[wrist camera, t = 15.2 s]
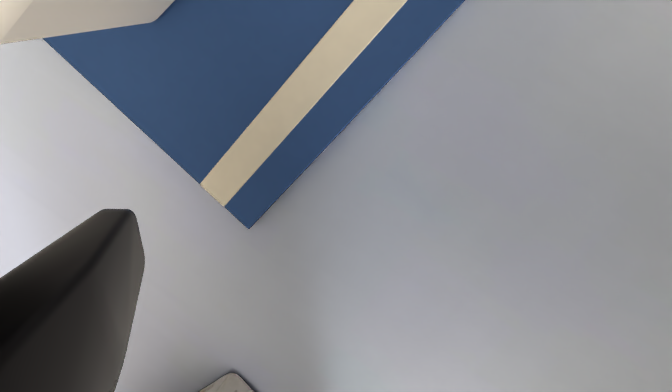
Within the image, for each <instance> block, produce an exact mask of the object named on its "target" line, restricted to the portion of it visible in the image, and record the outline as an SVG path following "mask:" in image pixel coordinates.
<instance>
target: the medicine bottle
mask: <svg viewBox="0 0 672 392" xmlns="http://www.w3.org/2000/svg"><path fill="white" fill-rule="evenodd" d="M174 1H175V0H0V44H6V43H13V42H20V41H27V40H33V39H40V38H47V37H54V36H61V35H68V34H75V33H82V32H89V31H96V30H103V29H110V28H117V27H123V26H130V25H137V24H144V23H151V22H153V21H155V20H156V19H158V18H159V16H160V15H161V14H162V13H163V12H164V11H165V10H166V9H167V8H168V7H169V6H170V5H171V4H172V3H173V2H174Z"/></svg>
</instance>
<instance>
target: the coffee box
mask: <svg viewBox="0 0 672 392" xmlns="http://www.w3.org/2000/svg"><path fill="white" fill-rule="evenodd" d="M199 392H254V391H253V390H252V389H251V388H250V387H249V386H248V385H247V384H246V383H245V381H244V380H243V379H242V378H241V377H240V376H238V375H237V374H235V373H228V374H226V375H225V376H223V377H221V378H220V379H218V380H217V381H215V382H213V383H212V384H210V385H209V386H207V387H205V388H204V389H202V390H200V391H199Z"/></svg>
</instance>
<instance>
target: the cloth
mask: <svg viewBox="0 0 672 392" xmlns="http://www.w3.org/2000/svg"><path fill="white" fill-rule="evenodd" d="M464 1H465V0H175V1H174V2H173V3H172V4H171V5H170V6H169V7H168V8H167V9H166V10H165V11H164V12H163V13H162V14H161V15H160V16H159V18H158V19H156V20H155V21H153V22H151V23H144V24H137V25H130V26H123V27H117V28H110V29H103V30H96V31H89V32H82V33H75V34H68V35H61V36H54V37H47V38H43V39H44V40H45V41H46V42H47V43H48V44H49V45H50V46H51V47H52V48H53V49H55V50H56V51H57V52H58V53H59V54H60V55H61V56H62V57H63V58H64V59H65V60H66V61H68V62H69V63H70V64H71V65H72V66H73V67H74V68H75V69H76V70H77V71H78V72H79V73H80V74H82V75H83V76H84V77H85V78H86V79H87V80H88V81H89V82H90V83H91V84H92V85H93V86H95V87H96V88H97V89H98V90H99V91H100V92H101V93H102V94H103V95H104V96H105V97H106V98H107V99H109V100H110V101H111V102H112V103H113V104H114V105H115V106H116V107H117V108H118V109H119V110H120V111H121V112H123V113H124V114H125V115H126V116H127V117H128V118H129V119H130V120H131V121H132V122H133V123H134V124H136V125H137V126H138V127H139V128H140V129H141V130H142V131H143V132H144V133H145V134H146V135H147V136H148V137H150V138H151V139H152V140H153V141H154V142H155V143H156V144H157V145H158V146H159V147H160V148H161V149H163V150H164V151H165V152H166V153H167V154H168V155H169V156H170V157H171V158H172V159H173V160H174V161H175V162H177V163H178V164H179V165H180V166H181V167H182V168H183V169H184V170H185V171H186V172H187V173H188V174H190V175H191V176H192V177H193V178H194V179H195V180H196V181H197V182H198V183H199V184H200V185H201V186H202V187H203V188H204V189H205V190H206V191H207V192H208V193H209V194H210V195H211V196H212V197H214V198H215V199H216V200H217V201H218V202H219V203H220V204H221V205H222V206H224V207H225V208H226V209H227V210H228V211H229V212H231V213H232V214H233V215H234V216H235V217H236V218H237V219H238V220H239V221H240V222H241V223H242V224H243V225H245V226H246V227H247V228H248V229H250V228H251V227H252V226H253V224H254V223H255V222H256V221H257V220H258V219H259V218H260V217H261V216H262V215H263V214H264V213H265V212H266V211H267V210H268V209H269V207H270V206H271V205H272V204H273V203H274V202H275V201H276V200H277V199H278V198H279V197H280V196H281V195H282V194H283V193H284V192H285V191H286V189H287V188H288V187H289V186H290V185H291V184H292V183H293V182H294V181H295V180H296V179H297V178H298V177H299V176H300V175H301V174H302V173H303V171H304V170H305V169H306V168H307V167H308V166H309V165H310V164H311V163H312V162H313V161H314V160H315V159H316V158H317V157H318V156H319V154H320V153H321V152H322V151H323V150H324V149H325V148H326V147H327V146H328V145H329V144H330V143H331V142H332V141H333V140H334V139H335V138H336V136H337V135H338V134H339V133H340V132H341V131H342V130H343V129H344V128H345V127H346V126H347V125H348V124H349V123H350V122H351V121H352V120H353V118H354V117H355V116H356V115H357V114H358V113H359V112H360V111H361V110H362V109H363V108H364V107H365V106H366V105H367V104H368V103H369V101H370V100H371V99H372V98H373V97H374V96H375V95H376V94H377V93H378V92H379V91H380V90H381V89H382V88H383V87H384V86H385V85H386V83H387V82H388V81H389V80H390V79H391V78H392V77H393V76H394V75H395V74H396V73H397V72H398V71H399V70H400V69H401V68H402V67H403V65H404V64H405V63H406V62H407V61H408V60H409V59H410V58H411V57H412V56H413V55H414V54H415V53H416V52H417V51H418V50H419V48H420V47H421V46H422V45H423V44H424V43H425V42H426V41H427V40H428V39H429V38H430V37H431V36H432V35H433V34H434V33H435V32H436V30H437V29H438V28H439V27H440V26H441V25H442V24H443V23H444V22H445V21H446V20H447V19H448V18H449V17H450V16H451V15H452V14H453V12H454V11H455V10H456V9H457V8H458V7H459V6H460V5H461V4H462V3H463V2H464Z"/></svg>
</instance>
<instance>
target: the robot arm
mask: <svg viewBox="0 0 672 392" xmlns="http://www.w3.org/2000/svg"><path fill="white" fill-rule="evenodd" d="M144 265H145V256H144V250H143V245H142V241H141V236H140V232H139V227H138V223H137V218H136V216H135V214H134V212H132V211H131V210H129V209H103V210H101V211H99V212H97V213H96V214H94V215H93V216H91V217H90V218H89V219H87V220H86V221H84V222H83V223H81V224H80V225H78V226H77V227H75V228H74V229H72V230H71V231H69V232H68V233H66V234H65V235H63V236H62V237H60V238H59V239H57V240H56V241H54V242H53V243H51V244H50V245H49V246H47V247H46V248H44V249H43V250H41V251H40V252H38V253H37V254H35V255H34V256H32V257H31V258H29V259H28V260H26V261H25V262H23V263H22V264H20V265H19V266H17V267H16V268H14V269H13V270H12V271H10V272H9V273H7V274H6V275H4V276H3V277H1V278H0V392H114V390H115V388H116V385H117V382H118V379H119V376H120V372H121V369H122V366H123V363H124V358H125V354H126V350H127V346H128V341H129V337H130V332H131V327H132V323H133V318H134V314H135V309H136V304H137V300H138V295H139V291H140V286H141V281H142V277H143V272H144Z"/></svg>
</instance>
